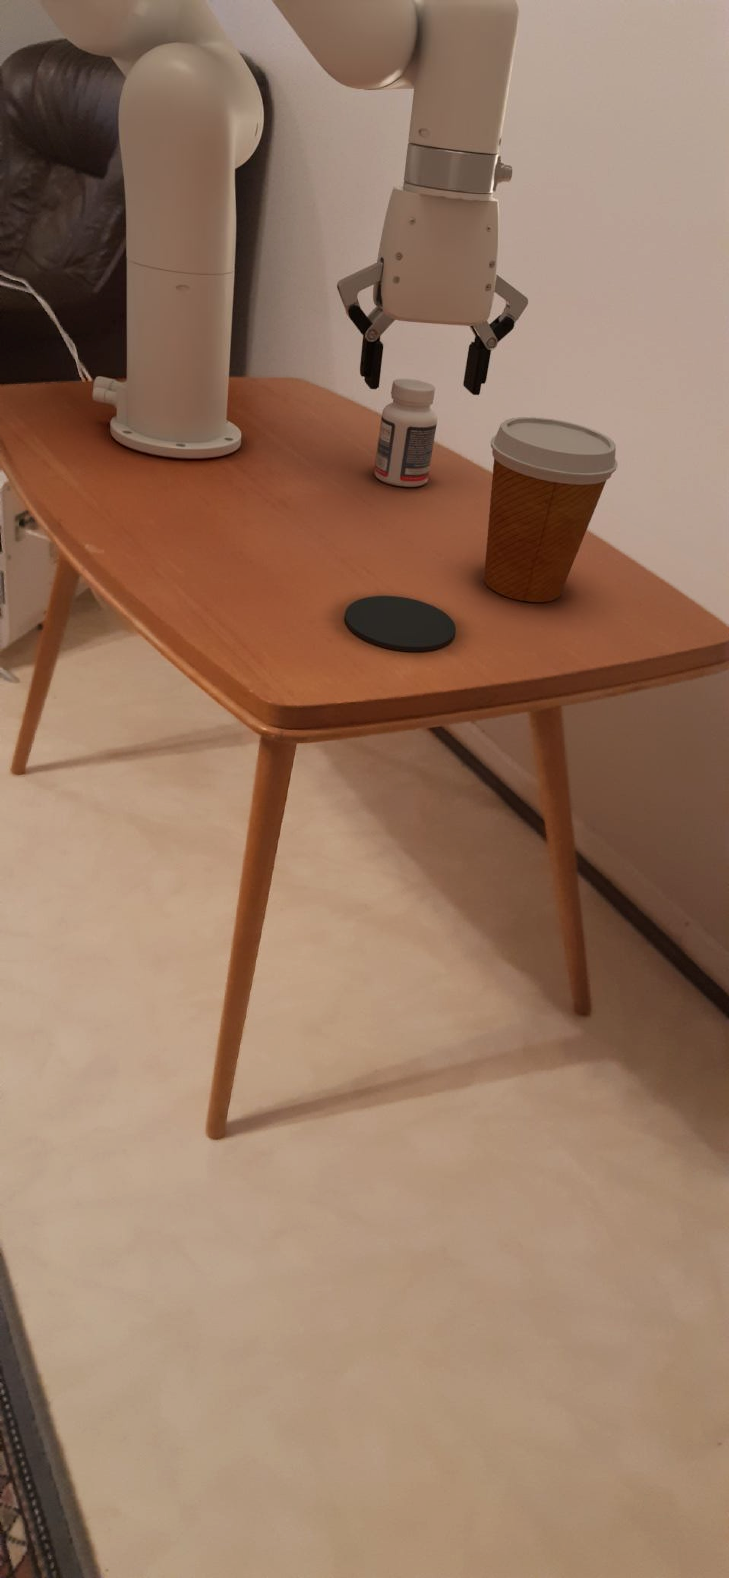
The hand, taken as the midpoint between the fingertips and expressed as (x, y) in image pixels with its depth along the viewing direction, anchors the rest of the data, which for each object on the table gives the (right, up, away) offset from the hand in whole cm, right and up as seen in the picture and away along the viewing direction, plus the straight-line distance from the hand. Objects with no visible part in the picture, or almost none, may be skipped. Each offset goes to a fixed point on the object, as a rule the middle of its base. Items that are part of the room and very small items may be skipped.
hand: (421, 388), depth 95 cm
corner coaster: (-3, -25, -21) cm, 33 cm away
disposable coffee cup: (+7, -21, -13) cm, 25 cm away
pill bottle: (-2, -7, +5) cm, 9 cm away
